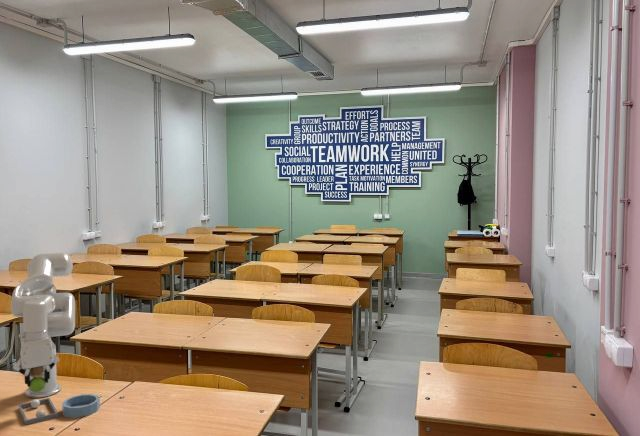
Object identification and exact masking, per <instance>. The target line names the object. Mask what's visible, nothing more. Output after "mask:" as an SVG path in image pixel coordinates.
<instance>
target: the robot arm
mask: <svg viewBox="0 0 640 436" xmlns="http://www.w3.org/2000/svg"><path fill="white" fill-rule="evenodd" d="M26 269H27V272H26V273H27V277H28V278H26V279H24V280H23V281H22V282H20V283H19V284H17V286H15V288H14V289H13V291H12V296H11V300H10V309H9V310H10V313H11V314H12V316H14V317H17V318H22V320H23V321H22V322H23V332H21V333H19V334H18V338H19V339H20V338H22V340H21V344H20V351H19V353H20V354H19V356H20V357H19V359H18V360H17V362H16V363H15V364H14V366H13V367H12V368H13V370H14V371H15V372H16V371H17V372H19V373H20V374H22V375H23V376H24V384H25V385H26V386H27V387H28V388H27V389H26V390H25V391H24V392H25V393H24V394H25V396H26V397H28V398H34V399H37V398H44V397H49V396H52V395H55V394H57V393H58V392H60V391H61V389H62V384H60V383H58V380H57V376H58V375H57V364H58V363H59V362H60V360H61V359H60V358H59V357H58V356H57V348H56V344H55V343H54V342H53V340H52V337H61V336H68V335H71V334H72V333H74V330H75V329H76V300H75V296H74V295H73V294H72V293H70V292H57V287H56V285H55V284H54V283H53V282H54V277H56V278H57V277H67V276H70V275H71V274H72V272H73V269H74V263H73V259H72V258H71V256H70V255H69V254H68V253H64V252H54V253H51V252H50V253H40V254H36V255H35V256H33V257H32V259H31V260H29V262H28V264H27V267H26ZM40 366H43V368H44V371H43V373H42V374H44V375H43V376H42V377H43V378H44V379H45V382H46V385H45V387H44V388H43V389H42V390H41V391H39V392H33V391H31V390H30V389H29V386H30V380H31V379H32V378H34V377H32V376H30V375H29V371H30V368H35V367H40Z"/></svg>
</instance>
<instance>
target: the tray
mask: <svg viewBox="0 0 640 436" xmlns="http://www.w3.org/2000/svg"><path fill="white" fill-rule="evenodd" d="M38 400H39V401H40V405H44V404H48V405H49V407H50V409H51V411H52V412H53V413H49V414H45V416H41V417H36V416H35V417H34V418H28V419H27V417H26V414H25V412H24V410H23V409H26V408H30V407H31V402H32V401H30V402H24V403H19V404H18V411H19V413H20V416H21V418H22V421H23V423H24V425H25V426H27V425H30V424H32V425H33V424H37V423H41V422H44V421H47V420H51V419H52V420H53V419H55V418H56V419H57V418H59V412H58V410H57V408H56V407H55V405H54V403H53V402H52V400H51V398H50V397H48V398H44V399H38ZM31 408H32V407H31Z"/></svg>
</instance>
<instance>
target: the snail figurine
mask: <svg viewBox="0 0 640 436" xmlns="http://www.w3.org/2000/svg"><path fill="white" fill-rule="evenodd" d="M43 371H44V368H43V366H40V367H35V368H30V371H29V375H30V376H32V377H34V378H32V379H31V380H30V386H29V387H28V388H29V389H30V390H31V391H33V392H39V391H41V390H42V389H43V388H44V387H45V385H46V382H45V379H44V378H43V377H42V376H43V375H44V374H42V373H43Z"/></svg>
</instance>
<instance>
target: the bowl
mask: <svg viewBox="0 0 640 436" xmlns="http://www.w3.org/2000/svg"><path fill="white" fill-rule="evenodd" d="M100 401H101V400H100V396H99V395H97V394H93V393H85V394H84V393H83V394H78V395H73V396H71V397H69V398H66V399H65V400H64V401H63V402H62V403H61V406H62V407H61V409H62V411H61V412H62V415H63V416H64V417H67V418H70V419H71V418H72V419H73V418H74V419H75V418H82V417H87V416H90V415H93V414H95V413H96V412H98V410H99V409H100V408H101V405H100V404H101V402H100Z"/></svg>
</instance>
